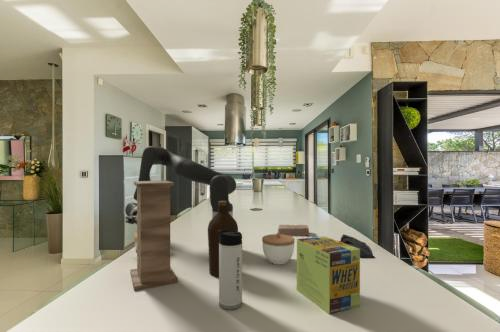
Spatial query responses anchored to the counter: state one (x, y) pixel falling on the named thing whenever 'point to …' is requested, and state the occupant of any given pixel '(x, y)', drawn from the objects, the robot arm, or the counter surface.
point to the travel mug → (230, 269)
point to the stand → (153, 235)
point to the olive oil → (218, 223)
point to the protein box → (328, 273)
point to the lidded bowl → (278, 248)
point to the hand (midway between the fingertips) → (143, 222)
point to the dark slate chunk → (357, 246)
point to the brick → (293, 230)
